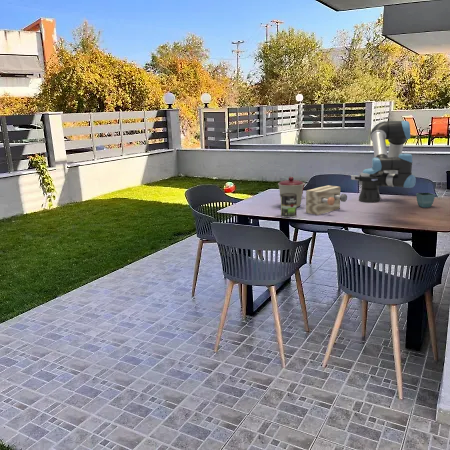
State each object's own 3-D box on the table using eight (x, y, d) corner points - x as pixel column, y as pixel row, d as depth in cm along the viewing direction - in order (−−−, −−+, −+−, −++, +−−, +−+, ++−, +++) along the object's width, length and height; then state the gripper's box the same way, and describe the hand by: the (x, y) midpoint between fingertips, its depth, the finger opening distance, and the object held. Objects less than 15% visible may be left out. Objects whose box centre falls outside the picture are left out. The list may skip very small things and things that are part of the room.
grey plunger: (327, 200, 305) (327, 192, 304) (331, 198, 308) (331, 191, 307) (342, 202, 297) (342, 194, 295) (347, 201, 300) (347, 193, 298)
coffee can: (299, 216, 290) (299, 195, 286) (284, 218, 287) (284, 196, 284) (292, 213, 299) (292, 192, 296) (278, 215, 297) (278, 193, 293)
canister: (273, 207, 320) (272, 177, 314) (287, 202, 332) (287, 174, 327) (294, 210, 308) (294, 179, 302) (309, 205, 320) (309, 176, 315)
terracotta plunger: (314, 203, 296) (314, 195, 295) (319, 202, 299) (319, 194, 298) (329, 205, 288) (330, 198, 286) (334, 204, 291) (334, 196, 290)
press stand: (305, 212, 300) (306, 190, 296) (327, 206, 315) (328, 185, 312) (318, 215, 293) (318, 192, 289) (339, 208, 308) (340, 186, 304)
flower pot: (414, 205, 308) (415, 192, 306) (427, 205, 309) (428, 192, 307) (421, 208, 300) (422, 195, 298) (434, 207, 300) (435, 194, 298)
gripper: (378, 188, 266) (345, 184, 282) (397, 183, 280) (365, 179, 296) (379, 175, 264) (346, 172, 280) (398, 171, 278) (365, 168, 294)
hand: (355, 176), depth 288 cm, fingers open, 9 cm apart
